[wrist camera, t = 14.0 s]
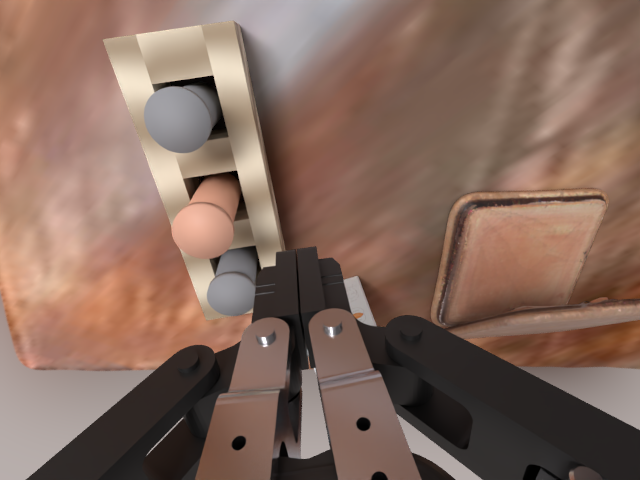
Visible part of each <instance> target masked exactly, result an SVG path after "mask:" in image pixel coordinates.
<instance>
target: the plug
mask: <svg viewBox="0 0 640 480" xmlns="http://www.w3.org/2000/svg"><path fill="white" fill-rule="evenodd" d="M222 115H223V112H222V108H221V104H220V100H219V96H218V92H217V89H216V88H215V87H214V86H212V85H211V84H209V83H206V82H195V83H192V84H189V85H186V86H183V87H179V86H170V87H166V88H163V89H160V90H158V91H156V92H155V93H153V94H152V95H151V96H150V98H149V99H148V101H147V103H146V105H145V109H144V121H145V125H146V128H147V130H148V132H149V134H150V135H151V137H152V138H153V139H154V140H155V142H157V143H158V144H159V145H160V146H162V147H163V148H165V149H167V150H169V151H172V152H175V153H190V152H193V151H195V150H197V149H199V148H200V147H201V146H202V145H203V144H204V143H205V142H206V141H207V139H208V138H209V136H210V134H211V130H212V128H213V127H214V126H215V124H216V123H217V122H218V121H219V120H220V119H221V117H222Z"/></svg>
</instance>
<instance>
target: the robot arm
mask: <svg viewBox="0 0 640 480" xmlns="http://www.w3.org/2000/svg"><path fill="white" fill-rule="evenodd" d="M297 258H298V259H297ZM307 350H308V351H307ZM308 355H309V361H310V366H311V368H316V374H317V379H318V386H319V391H320V397H321V402H322V407H323V413H324V418H325V423H326V429H327V434H328V439H329V445H330V450H328V451H325V452H323V453H321V454H319V455H316V456H314V457H312V458H309V459H301V448H300V447H301V421H302V388H301V386H302V370H305V369H309V364H308ZM396 413H397V414H398V415H399V416H401V417H402V418H403V419H404V420H406V421H407V422H408V423H410V424H411V425H412V426H414V427H415V428H416V429H417V430H419V431H420V432H421V433H423V434H424V435H425V436H427V437H428V438H429V439H430V440H432V441H433V442H434V443H436V444H437V445H438V446H440V447H441V448H442V449H444V450H445V451H446V452H447V453H449V454H450V455H451V456H453V457H454V458H455V459H457V460H458V461H459V462H460V463H462V464H463V465H465V466H466V467H467V468H468V469H470V470H471V471H472V472H473V473H475V474H476V475H478V476H479V477H480V478H481V479H483V480H640V430H638V429H636V428H634V427H633V426H631V425H629V424H626V423H625V422H623V421H621V420H619V419H617V418H615V417H613V416H611V415H609V414H607V413H605V412H603V411H602V410H600V409H597V408H596V407H594V406H592V405H590V404H588V403H586V402H584V401H582V400H580V399H578V398H576V397H574V396H572V395H570V394H569V393H566V392H565V391H563V390H561V389H559V388H557V387H555V386H553V385H551V384H549V383H547V382H545V381H543V380H541V379H539V378H538V377H536V376H534V375H532V374H530V373H528V372H526V371H524V370H522V369H520V368H518V367H516V366H514V365H513V364H511V363H509V362H507V361H505V360H503V359H501V358H499V357H497V356H495V355H493V354H491V353H489V352H487V351H485V350H483V349H482V348H480V347H478V346H476V345H474V344H472V343H470V342H468V341H466V340H464V339H462V338H460V337H458V336H456V335H454V334H452V333H451V332H449V331H447V330H445V329H443V328H441V327H439V326H437V325H435V324H433V323H431V322H429V321H427V320H425V319H423V318H421V317H418V316H412V315H405V316H399V317H396V318H394V319H393V320H391V321H390V322H389V323H388V324H387V326H386V327H377V326H371V325H367V324H364V323H362V322H360V321H359V320H357V319H356V318H355V317H354V316H353V314H352V312H351V309H350V305H349V300H348V296H347V292H346V288H345V284H344V280H343V276H342V272H341V268H340V264H339V263H337V262H336V261H335V260H334V259H333V258H325V259H318V255H317V248H316V246H315V247H308V248H301V249H297V254H296V249H294V250H287V251H280V252H276V264H275V266H269V267H263V269H262V270H261V272H260V273H259V274H258V276H257V280H256V289H255V298H254V307H253V315H252V324H251V325H249V326H248V327H247V328H246V329H245V331H244V333H243V335H242V339H241V341H240V342H239V343H237V344H236V345H234V346H232V347H230V348H227V349H225V350H222V351H220V352H217V353H215V354H214V352H213V350H212V349H211V348H209V347H207V346H204V345H193V346H189V347H186V348H184V349H182V350H180V351H178V352H177V353H176V354H174V355H173V356H172V357H171V358H169V359H168V360H167V361H166V362H165V363H163V364H162V365H161V366H160V367H159V368H158V369H156V370H155V371H154V372H153V373H152V374H150V375H149V376H148V377H147V378H146V379H145V380H143V381H142V382H141V383H140V384H139V385H137V386H136V387H135V388H134V389H133V390H132V391H130V392H129V393H128V394H127V395H126V396H124V397H123V398H122V399H121V400H120V401H119V402H117V403H116V404H115V405H114V406H113V407H111V408H110V409H109V410H108V411H107V412H106V413H104V414H103V415H102V416H101V417H100V418H98V419H97V420H96V421H95V422H94V423H92V424H91V425H90V426H89V427H88V428H87V429H85V430H84V431H83V432H82V433H81V434H79V435H78V436H77V437H76V438H75V439H74V440H72V441H71V442H70V443H69V444H68V445H66V446H65V447H64V448H63V449H62V450H61V451H59V452H58V453H57V454H56V455H55V456H54V457H52V458H51V459H50V460H49V461H48V462H46V463H45V464H44V465H43V466H42V467H41V468H40V469H38V470H37V471H36V472H35V473H33V474H32V475H31V476H30V477H29V478H27V479H26V480H455V479H454V478H453V477H452V476H451V475H449V474H448V473H447V472H446V471H444V470H443V469H442V468H440V467H439V466H438V465H436V464H435V463H433V462H432V461H430V460H427V459H426V458H424V457H422V456H420V455H417V454H414V453H412V452H411V451H410V448H409V446H408V443H407V441H406V438H405V435H404V433H403V430H402V427H401V425H400V422H399V420H398V417H397V414H396ZM182 417H183V419H182V421H180V422H179V423H178V425H177V426H176V427H175V428H174V429H173V430H172V431H171V432H170V433H169V434H168V435H167V436H166V437H165V438H164V439H163V440H162V441H161V442H160V443H159V444H158V445H157V446H156V447H155V448H154V449H153V450H152V451H151V452H150V453H149V454H148V452H149V451H150V450H151V448H153V447H154V446H155V445H156V443H157V442H159V440H160V439H161V438H162V437H163V436H164V435H165V434H166V433H167V432H168V431H169V430H170V429H171V428H172V427H173V426H174V425H175V424H176V423H177V422H178V421H179V420H180V419H181V418H182ZM147 454H148V455H147ZM146 455H147V456H146Z"/></svg>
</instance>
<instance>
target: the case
mask: <svg viewBox="0 0 640 480" xmlns="http://www.w3.org/2000/svg"><path fill="white" fill-rule="evenodd" d="M608 203H609V200H608V196H607V194H606V193H605V192H604V191H602V190H599V189H593V188H581V189H562V190H542V191H505V192H504V191H499V192H472V193H469V194H466V195H464V196H462V197H461V198H459V199H458V200H457V201H456V202H455V203H454V205H453V207H452V209H451V211H450V214H449V217H448V222H447V228H446V234H445V240H444V245H443V251H442V257H441V263H440V268H439V273H438V278H437V282H436V287H435V292H434V297H433V301H432V306H431V313H430V315H431V320H432V321H433V323H434V324H436V325H438V326H441V327H448V328H445V330H447V331H449V332H451V333H452V334H454V335H456V336H458V337H460V338H462V339H470V338H484V337H498V336H512V335H524V334H538V333H549V332H561V331H568V330H576V329H582V328H589V327H595V326H601V325H607V324H614V323H621V322H627V321H634V320H640V299H623V300H616V299H609V300H608V298H607V297H602V298H598V299H595V300H593V301H591V302H588V301H585V302H588V303H587V304H585V302H582V303H580V304H575V305H567V304H568V301H569V299H570V297H571V294H572V292H573V290H574V287H575V285H576V283H577V280H578V278H579V275H580V273H581V271H582V268H583V266H584V263H585V261H586V259H587V256H588V254H589V252H590V249H591V247H592V244H593V242H594V239H595V237H596V234H597V232H598V230H599V227H600V225H601V223H602V220H603V218H604V215H605V213H606V211H607V208H608Z"/></svg>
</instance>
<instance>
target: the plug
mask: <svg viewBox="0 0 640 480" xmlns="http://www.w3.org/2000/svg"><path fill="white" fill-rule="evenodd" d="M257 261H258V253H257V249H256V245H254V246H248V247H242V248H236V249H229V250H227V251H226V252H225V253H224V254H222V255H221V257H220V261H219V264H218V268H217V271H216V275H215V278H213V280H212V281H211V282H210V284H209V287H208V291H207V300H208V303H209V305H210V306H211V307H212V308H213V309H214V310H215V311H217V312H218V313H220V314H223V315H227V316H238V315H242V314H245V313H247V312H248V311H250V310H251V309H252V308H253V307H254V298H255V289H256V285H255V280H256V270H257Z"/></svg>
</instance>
